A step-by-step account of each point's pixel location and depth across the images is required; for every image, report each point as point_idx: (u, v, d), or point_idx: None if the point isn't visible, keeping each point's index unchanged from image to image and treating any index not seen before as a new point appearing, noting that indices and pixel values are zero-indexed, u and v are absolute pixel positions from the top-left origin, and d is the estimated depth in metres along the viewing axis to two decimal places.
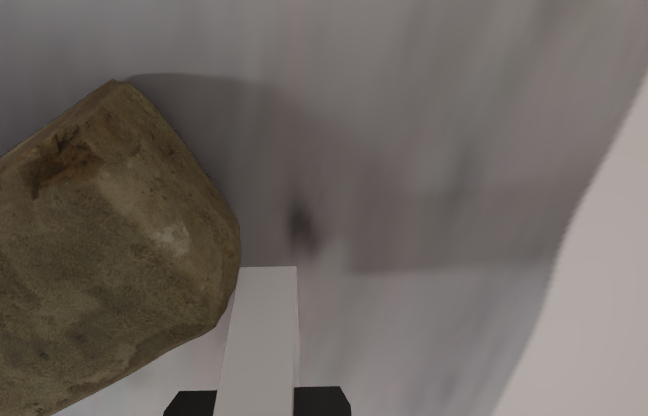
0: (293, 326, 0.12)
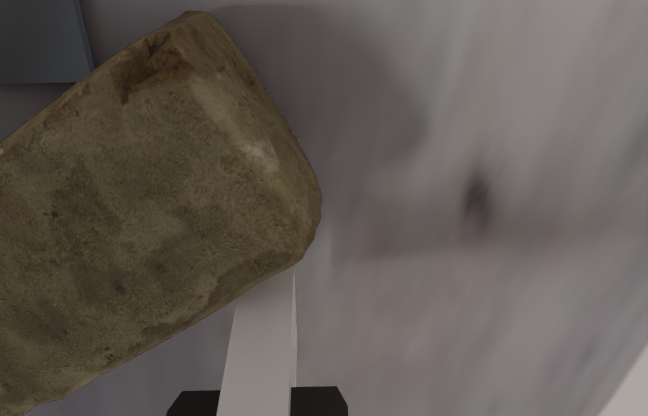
0: (290, 326, 0.12)
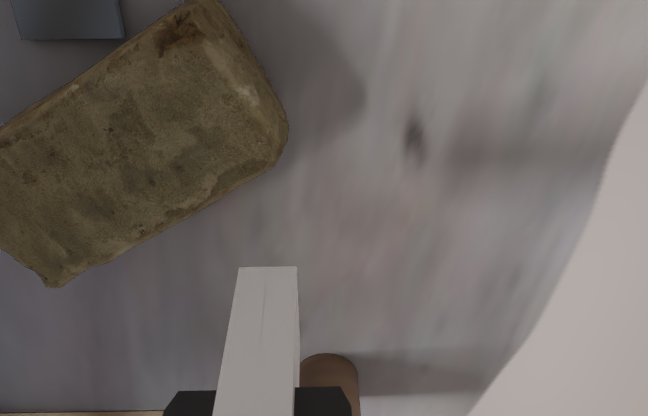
0: (293, 326, 0.12)
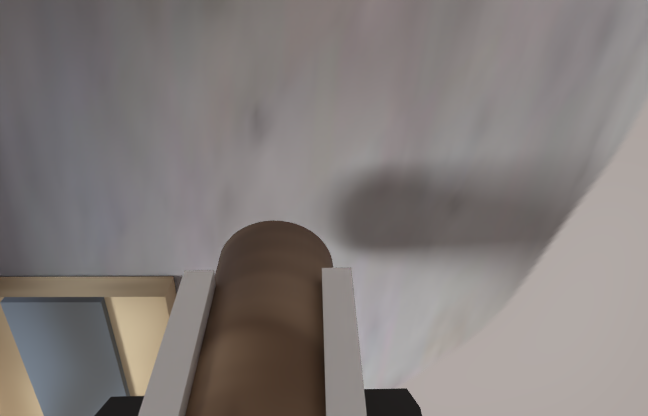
0: (356, 328, 0.12)
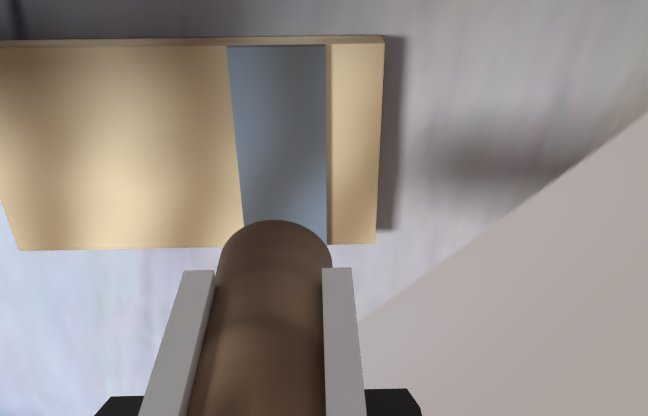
0: (356, 328, 0.12)
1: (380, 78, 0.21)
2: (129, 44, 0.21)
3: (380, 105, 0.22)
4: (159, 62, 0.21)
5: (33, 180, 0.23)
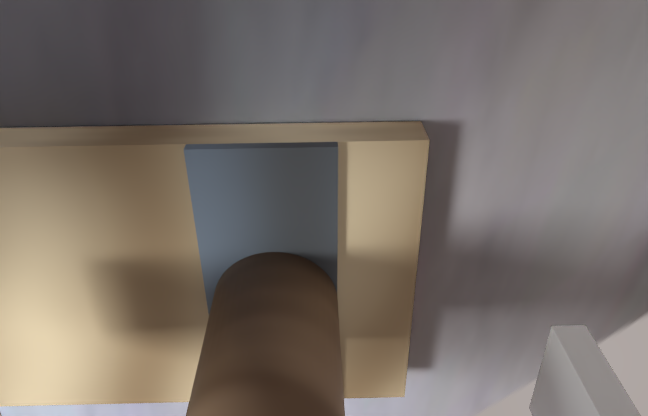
0: (633, 407, 0.10)
1: (420, 188, 0.14)
2: (36, 140, 0.13)
3: (419, 225, 0.14)
4: (82, 167, 0.13)
5: None
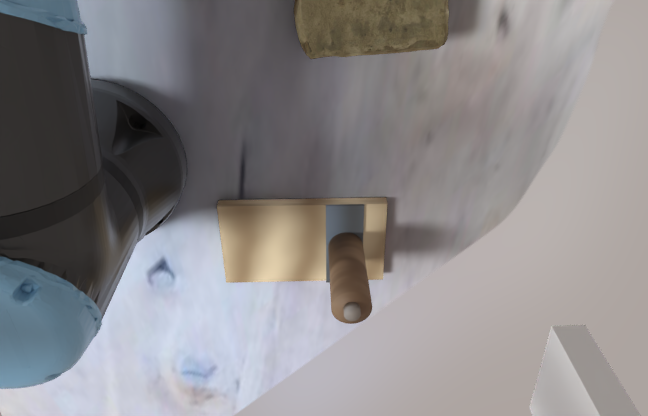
0: (634, 407, 0.10)
1: (385, 215, 0.53)
2: (286, 203, 0.52)
3: (385, 225, 0.53)
4: (298, 210, 0.52)
5: (239, 253, 0.55)
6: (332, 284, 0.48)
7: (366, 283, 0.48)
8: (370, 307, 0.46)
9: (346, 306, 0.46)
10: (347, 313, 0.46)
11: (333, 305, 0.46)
